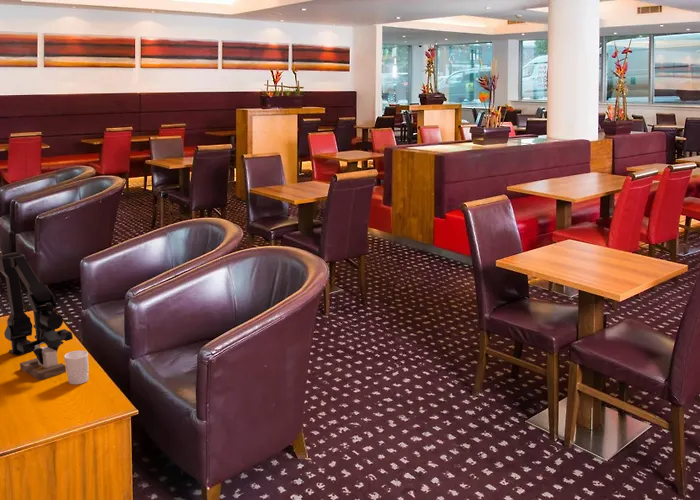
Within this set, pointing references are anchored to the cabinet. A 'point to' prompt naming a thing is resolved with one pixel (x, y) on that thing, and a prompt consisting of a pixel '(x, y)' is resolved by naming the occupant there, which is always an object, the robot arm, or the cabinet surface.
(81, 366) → the white cup
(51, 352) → the block
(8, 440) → the cabinet surface
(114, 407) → the cabinet surface
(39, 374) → the notched board
